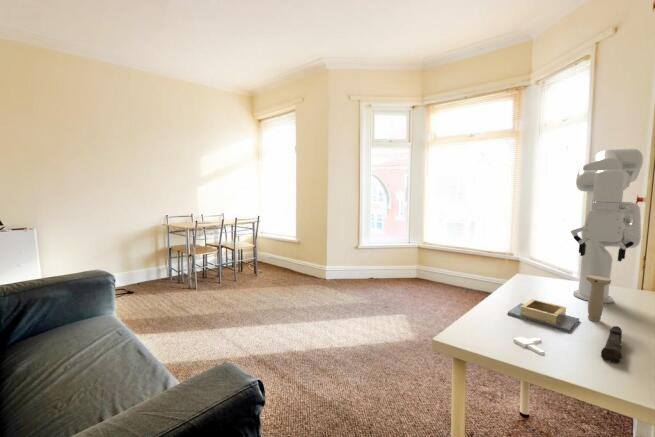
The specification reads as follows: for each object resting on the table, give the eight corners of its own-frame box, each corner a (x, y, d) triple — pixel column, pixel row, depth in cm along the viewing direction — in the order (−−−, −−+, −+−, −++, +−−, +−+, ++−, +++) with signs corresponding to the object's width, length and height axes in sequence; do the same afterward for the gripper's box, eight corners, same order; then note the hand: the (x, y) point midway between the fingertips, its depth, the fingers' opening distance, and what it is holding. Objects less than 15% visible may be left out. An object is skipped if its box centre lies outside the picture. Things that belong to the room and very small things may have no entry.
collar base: (520, 305, 122) (521, 295, 121) (579, 321, 108) (580, 310, 108) (507, 314, 113) (508, 303, 113) (569, 332, 100) (570, 320, 99)
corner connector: (559, 353, 89) (560, 347, 89) (537, 357, 87) (538, 351, 87) (533, 339, 97) (534, 334, 96) (513, 343, 94) (513, 338, 94)
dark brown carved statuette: (620, 366, 82) (622, 349, 82) (600, 360, 85) (602, 343, 85) (628, 342, 95) (630, 327, 94) (610, 337, 98) (612, 323, 97)
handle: (603, 325, 106) (608, 281, 104) (580, 318, 111) (584, 276, 109) (608, 321, 108) (612, 279, 107) (584, 315, 114) (589, 274, 112)
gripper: (643, 208, 101) (637, 261, 103) (576, 205, 114) (571, 252, 116) (641, 209, 96) (634, 264, 98) (571, 206, 109) (566, 254, 111)
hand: (600, 257), depth 107 cm, fingers open, 9 cm apart
